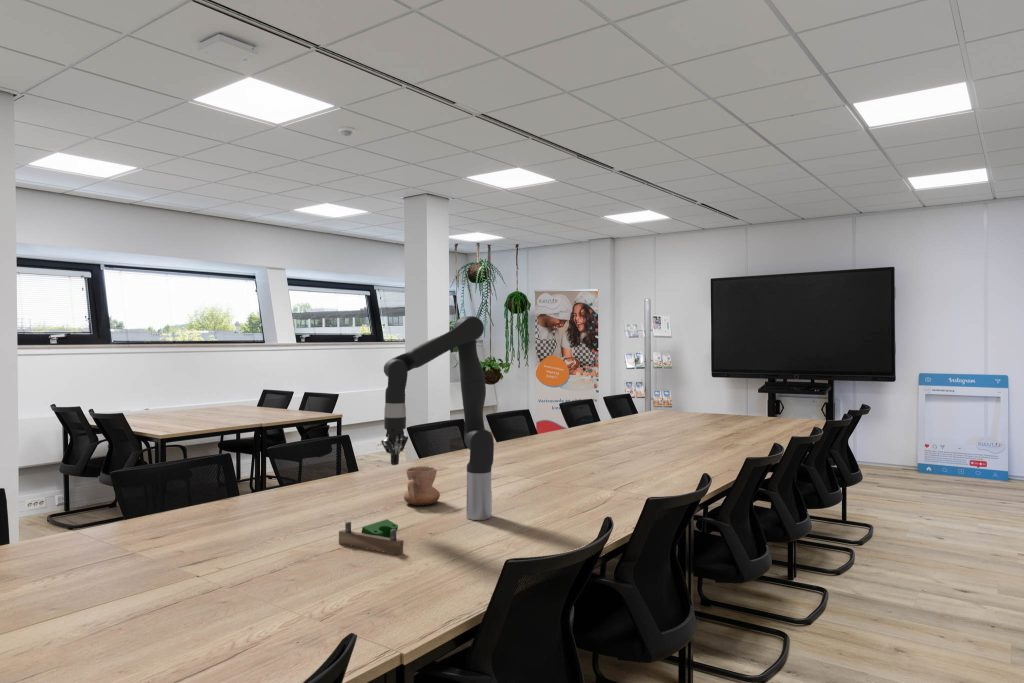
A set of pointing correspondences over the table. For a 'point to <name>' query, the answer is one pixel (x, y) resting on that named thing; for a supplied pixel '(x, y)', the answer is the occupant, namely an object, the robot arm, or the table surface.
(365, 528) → the clamp
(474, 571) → the table surface
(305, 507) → the table surface
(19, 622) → the table surface
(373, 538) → the bar
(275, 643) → the table surface
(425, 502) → the ceramic jug
